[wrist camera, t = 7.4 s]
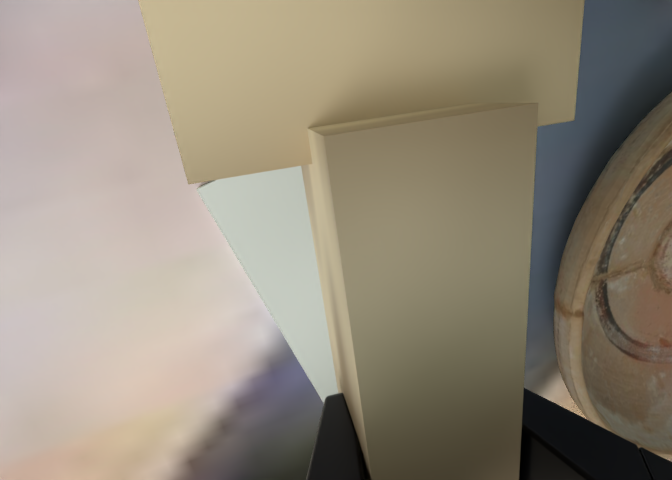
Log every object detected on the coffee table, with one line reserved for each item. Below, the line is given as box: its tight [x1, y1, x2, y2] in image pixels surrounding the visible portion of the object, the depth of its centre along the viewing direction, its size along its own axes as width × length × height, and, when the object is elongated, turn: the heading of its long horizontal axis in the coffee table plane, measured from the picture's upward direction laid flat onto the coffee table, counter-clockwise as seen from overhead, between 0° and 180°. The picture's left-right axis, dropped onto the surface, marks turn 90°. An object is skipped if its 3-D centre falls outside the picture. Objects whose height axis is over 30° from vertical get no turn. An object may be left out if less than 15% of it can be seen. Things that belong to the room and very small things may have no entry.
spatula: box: [138, 0, 584, 480], centre depth 7 cm, size 20×6×4 cm, turn 7°
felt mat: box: [197, 166, 338, 403], centre depth 19 cm, size 14×9×1 cm, turn 23°
